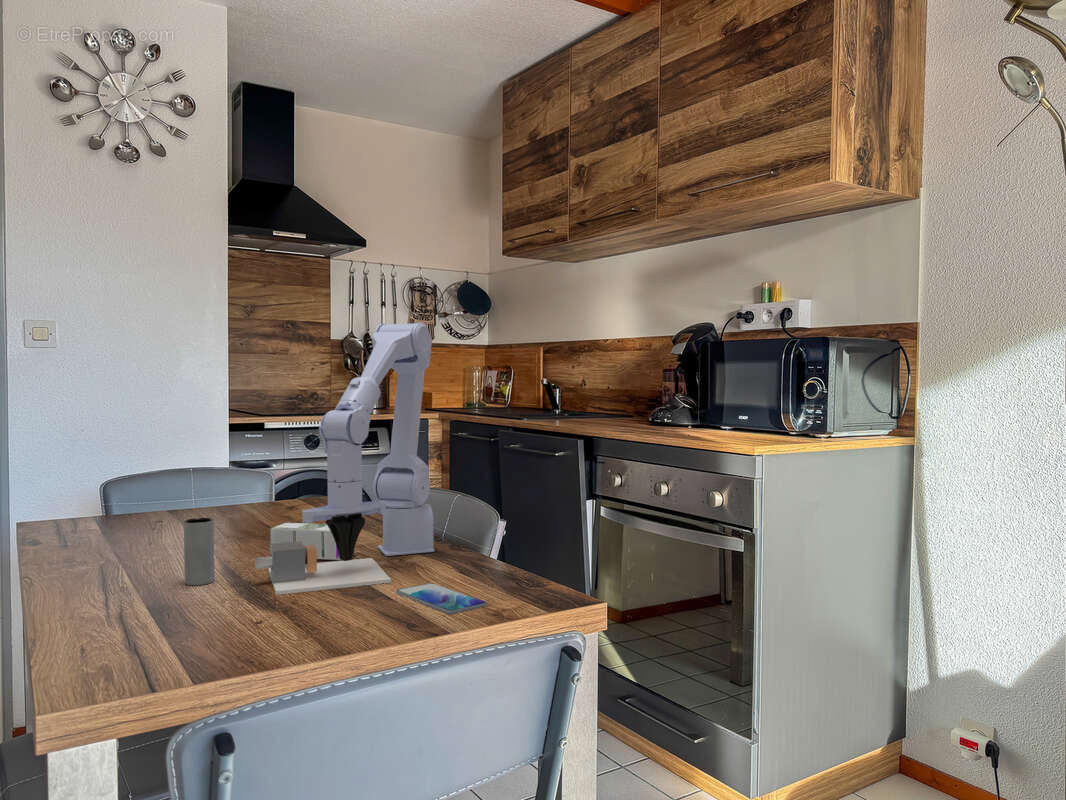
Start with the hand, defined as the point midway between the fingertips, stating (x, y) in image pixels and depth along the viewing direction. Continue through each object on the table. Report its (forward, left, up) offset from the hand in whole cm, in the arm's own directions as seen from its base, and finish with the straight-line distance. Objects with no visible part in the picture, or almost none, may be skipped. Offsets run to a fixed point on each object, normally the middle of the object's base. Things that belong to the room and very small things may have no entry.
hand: (345, 559), depth 132 cm
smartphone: (-11, +20, -3) cm, 23 cm away
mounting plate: (+3, 0, -3) cm, 4 cm away
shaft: (+10, 0, -1) cm, 10 cm away
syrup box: (+10, -20, 0) cm, 23 cm away
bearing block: (+10, 0, -3) cm, 10 cm away
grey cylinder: (+23, -5, -3) cm, 24 cm away
